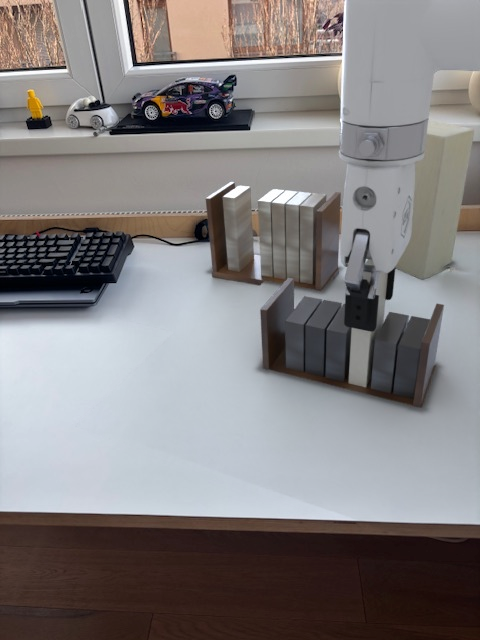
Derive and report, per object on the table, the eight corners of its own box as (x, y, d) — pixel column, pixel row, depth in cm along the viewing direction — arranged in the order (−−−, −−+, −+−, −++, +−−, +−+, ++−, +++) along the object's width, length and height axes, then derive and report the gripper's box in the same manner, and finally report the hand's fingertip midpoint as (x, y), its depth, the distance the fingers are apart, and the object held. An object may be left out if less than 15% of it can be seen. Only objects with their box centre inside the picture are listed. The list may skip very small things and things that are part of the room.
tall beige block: (455, 266, 84) (478, 126, 73) (423, 281, 81) (443, 136, 70) (414, 250, 90) (430, 118, 79) (383, 263, 87) (395, 127, 76)
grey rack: (435, 372, 63) (446, 304, 58) (421, 415, 57) (432, 344, 52) (287, 339, 70) (286, 277, 65) (261, 374, 64) (258, 309, 59)
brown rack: (339, 273, 85) (342, 192, 78) (321, 296, 79) (323, 211, 72) (234, 256, 92) (229, 181, 86) (211, 276, 87) (204, 198, 80)
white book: (380, 357, 64) (389, 257, 57) (366, 387, 59) (374, 282, 53) (363, 354, 65) (370, 254, 58) (348, 383, 60) (354, 279, 53)
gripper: (402, 170, 41) (383, 364, 50) (442, 119, 53) (421, 281, 63) (308, 163, 44) (307, 347, 53) (367, 116, 56) (357, 271, 66)
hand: (369, 310), depth 58 cm, fingers closed on white book, 6 cm apart
